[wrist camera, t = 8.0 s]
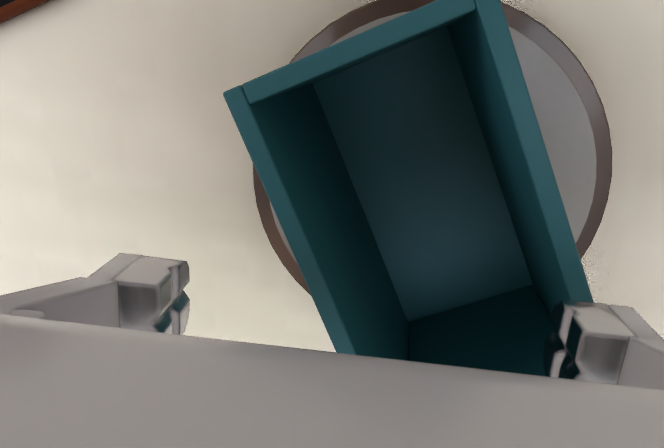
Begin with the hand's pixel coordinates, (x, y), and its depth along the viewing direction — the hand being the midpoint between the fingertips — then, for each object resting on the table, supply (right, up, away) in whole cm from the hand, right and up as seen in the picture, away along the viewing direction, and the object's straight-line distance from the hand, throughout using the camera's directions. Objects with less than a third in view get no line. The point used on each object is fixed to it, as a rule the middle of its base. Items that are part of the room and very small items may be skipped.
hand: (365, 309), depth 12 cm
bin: (+3, +4, +11) cm, 12 cm away
